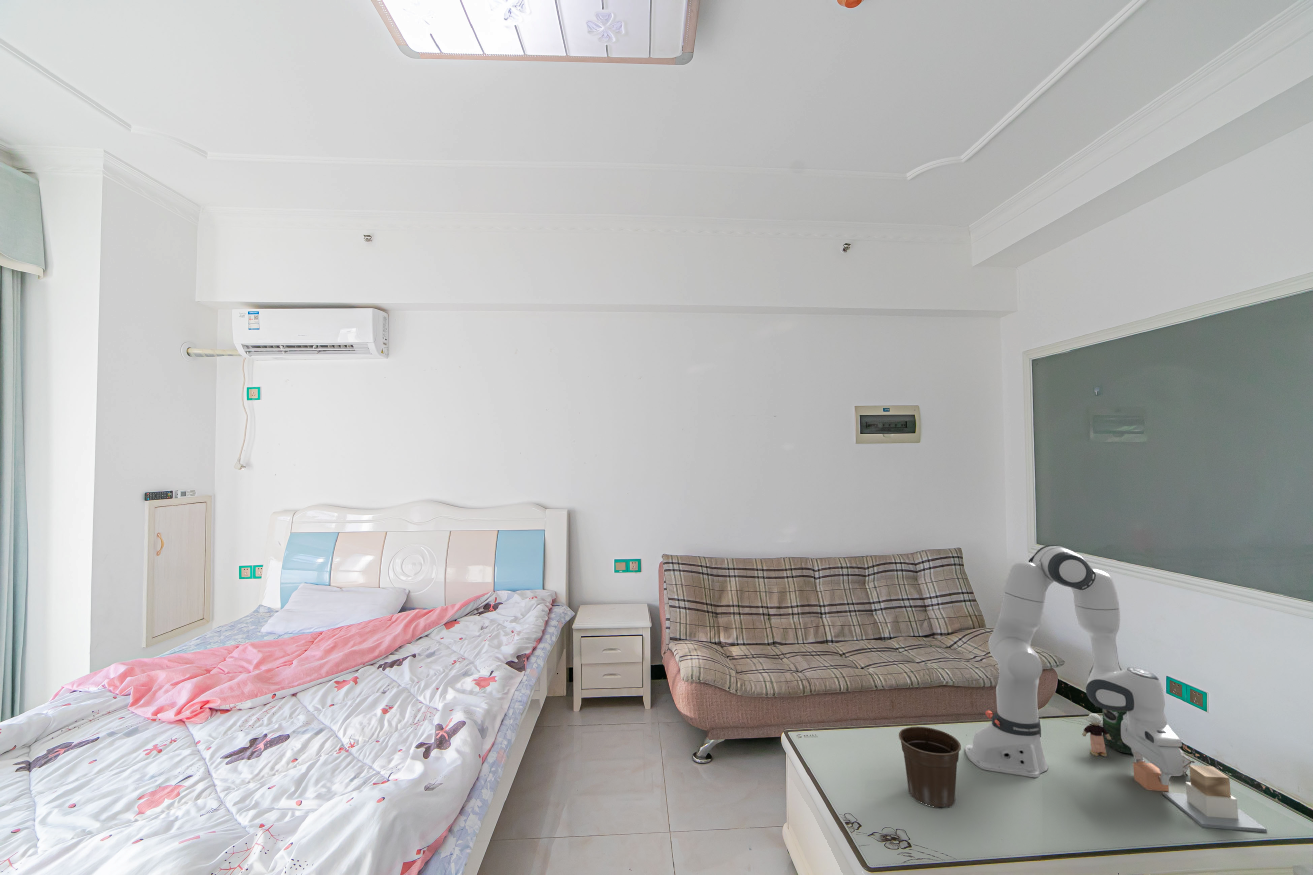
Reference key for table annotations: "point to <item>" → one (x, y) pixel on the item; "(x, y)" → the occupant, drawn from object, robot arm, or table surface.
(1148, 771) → the terracotta brick
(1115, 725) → the coffee jar
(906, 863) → the table surface
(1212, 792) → the oak brick
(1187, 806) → the baseplate
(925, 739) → the plant pot
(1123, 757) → the table surface
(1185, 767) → the game die
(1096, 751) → the grandmother figurine
